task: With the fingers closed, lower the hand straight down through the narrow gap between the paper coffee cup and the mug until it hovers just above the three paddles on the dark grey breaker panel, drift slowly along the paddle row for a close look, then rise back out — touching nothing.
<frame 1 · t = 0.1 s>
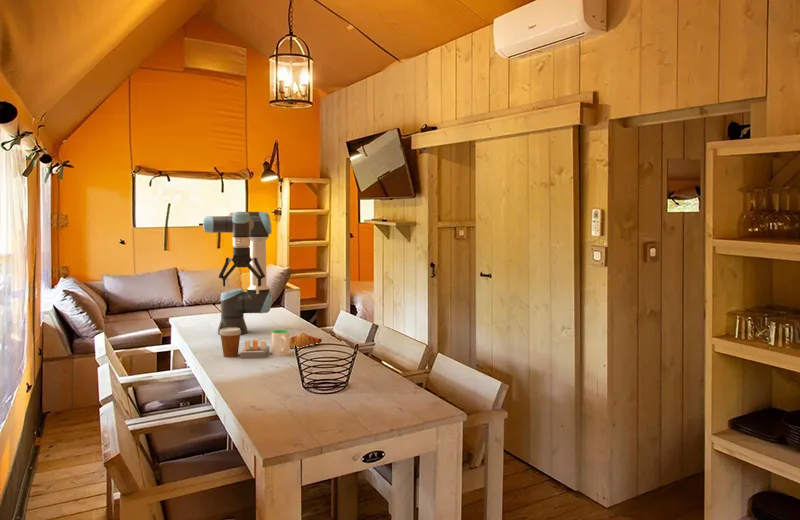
hand: (242, 293, 267), 28 cm above the table, tool pointing down, fingers open, 13 cm apart
paddle c: (263, 344, 269), point 5 cm above the table, hinge at 0.0°
paddle a: (247, 344, 268), point 5 cm above the table, hinge at 0.0°, touching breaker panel
mug: (282, 354, 270), on the table
paddle b: (255, 344, 269), point 5 cm above the table, hinge at 0.0°
croissant: (300, 347, 287), on the table
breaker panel: (255, 354, 269), on the table
disposable coffee cup: (230, 355, 268), on the table
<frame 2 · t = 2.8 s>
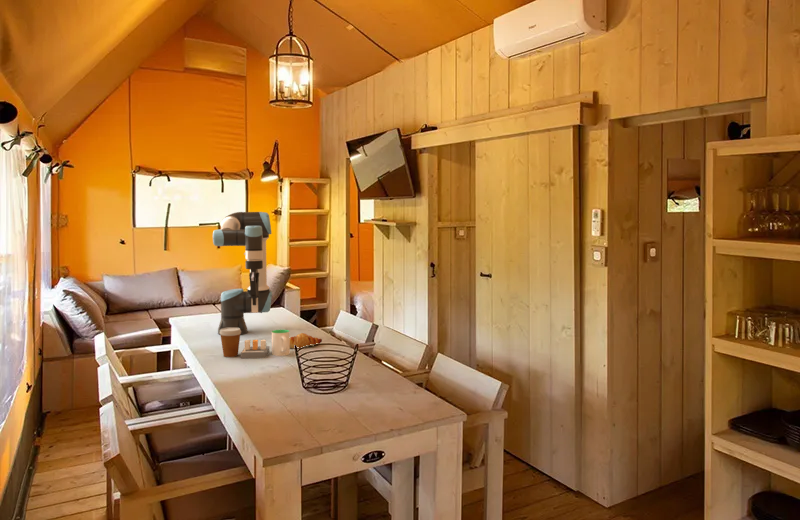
hand: (254, 312, 267), 20 cm above the table, tool pointing down, fingers closed
nothing on the table moved.
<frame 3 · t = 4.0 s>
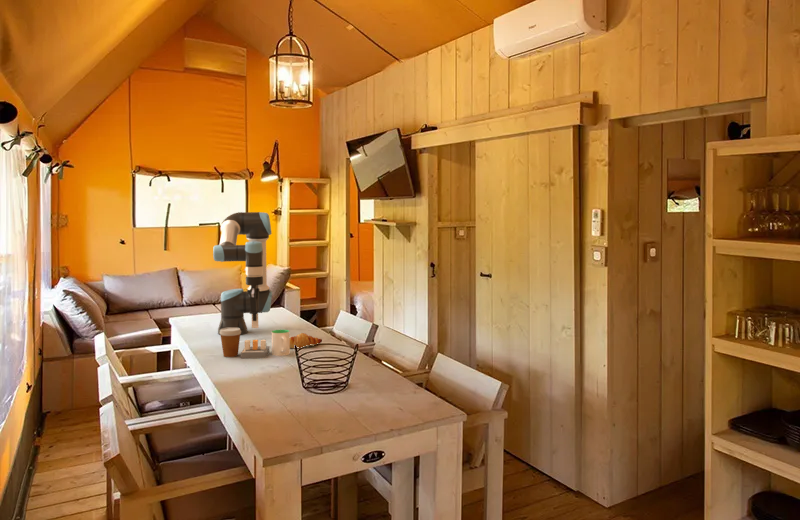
hand: (255, 327, 268), 13 cm above the table, tool pointing down, fingers closed
nothing on the table moved.
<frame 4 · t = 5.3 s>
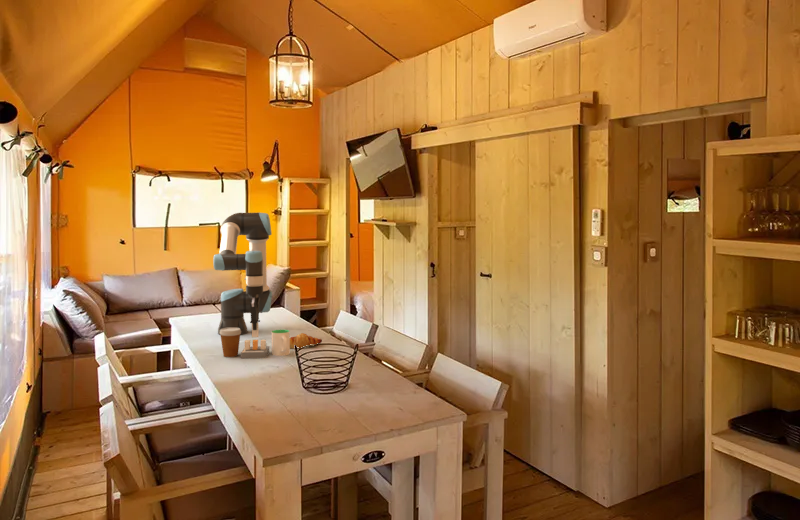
hand: (255, 336, 268), 8 cm above the table, tool pointing down, fingers closed
nothing on the table moved.
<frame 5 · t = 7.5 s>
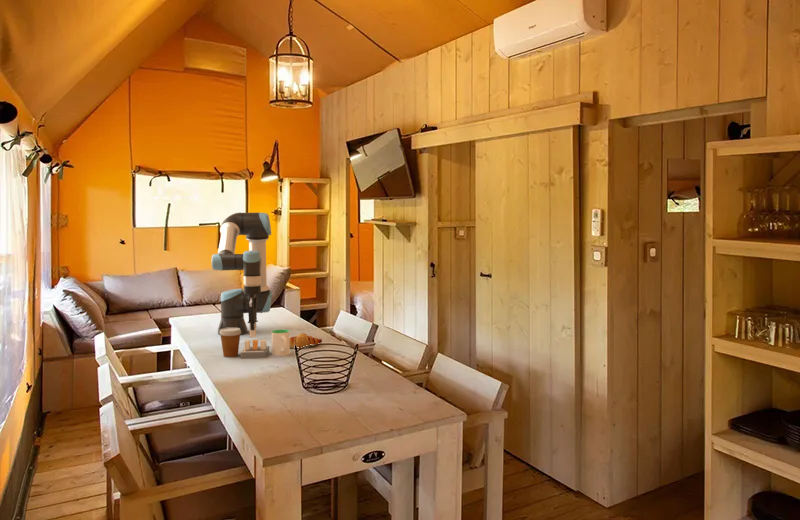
hand: (253, 336, 268), 8 cm above the table, tool pointing down, fingers closed
nothing on the table moved.
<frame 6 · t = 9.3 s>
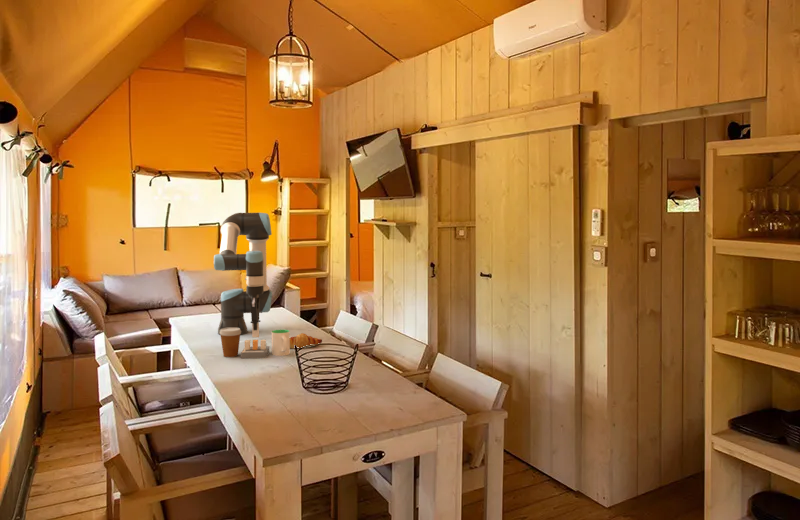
hand: (255, 336, 268), 8 cm above the table, tool pointing down, fingers closed
nothing on the table moved.
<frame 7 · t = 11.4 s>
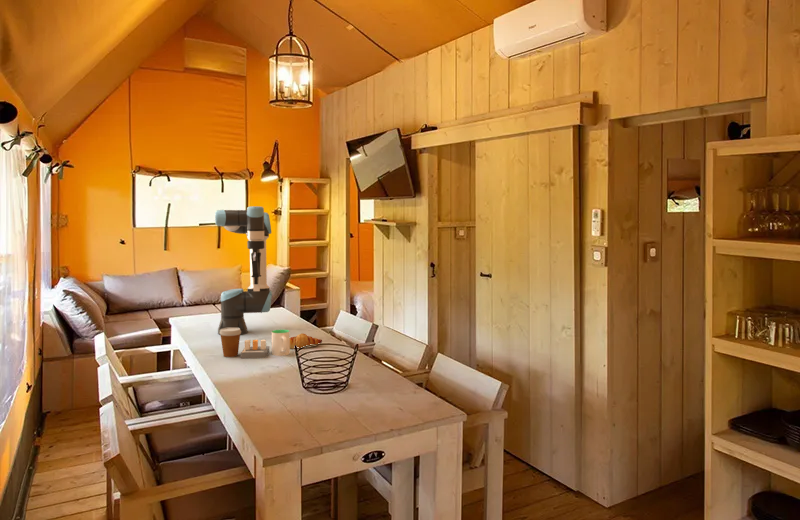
hand: (256, 290, 274), 28 cm above the table, tool pointing down, fingers closed
nothing on the table moved.
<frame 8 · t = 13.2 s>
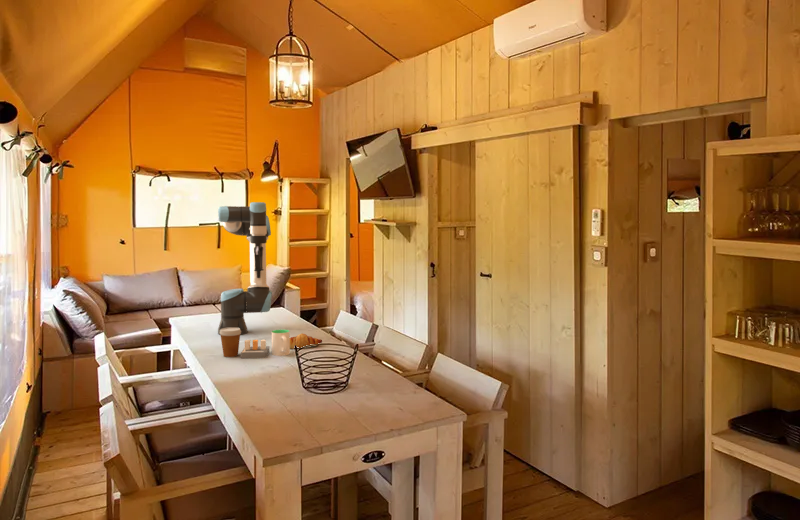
hand: (259, 284, 281), 30 cm above the table, tool pointing down, fingers closed
at the end: paddle b at +0° (first picture: +0°); disposable coffee cup moved 0.2 cm from its start; mug moved 0.2 cm from its start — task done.
